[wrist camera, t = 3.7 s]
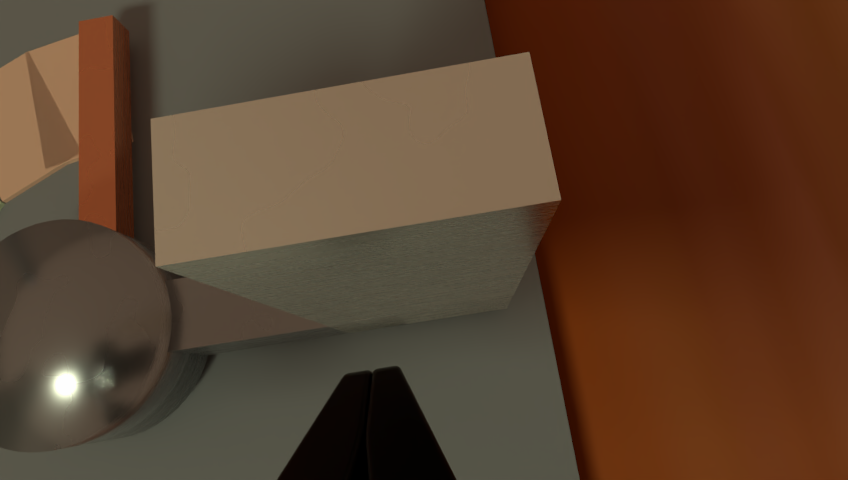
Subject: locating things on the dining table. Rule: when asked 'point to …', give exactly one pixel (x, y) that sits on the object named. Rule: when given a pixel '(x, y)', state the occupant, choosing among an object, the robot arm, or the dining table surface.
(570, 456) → the board
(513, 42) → the dining table surface
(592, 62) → the dining table surface
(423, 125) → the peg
